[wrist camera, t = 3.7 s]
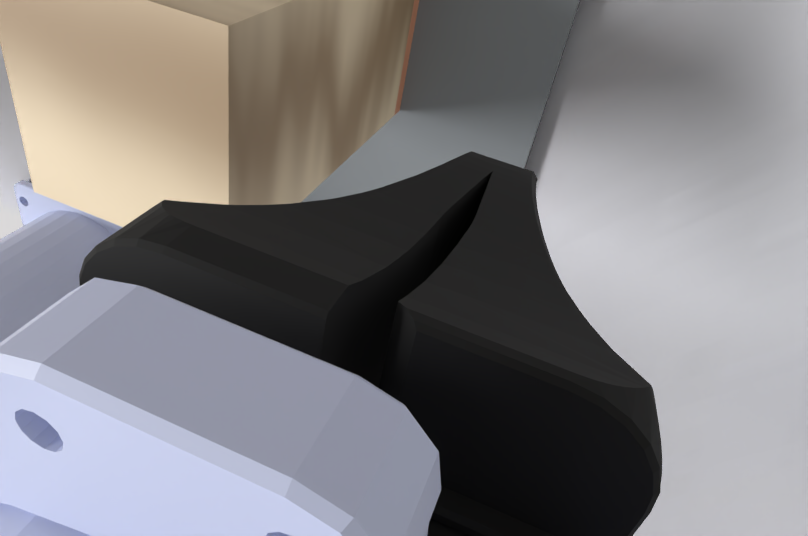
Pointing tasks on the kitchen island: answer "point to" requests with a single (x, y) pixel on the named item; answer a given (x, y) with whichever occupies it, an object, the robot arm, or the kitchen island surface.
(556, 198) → the kitchen island surface
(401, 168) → the rubber mat
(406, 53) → the beech block
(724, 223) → the kitchen island surface
